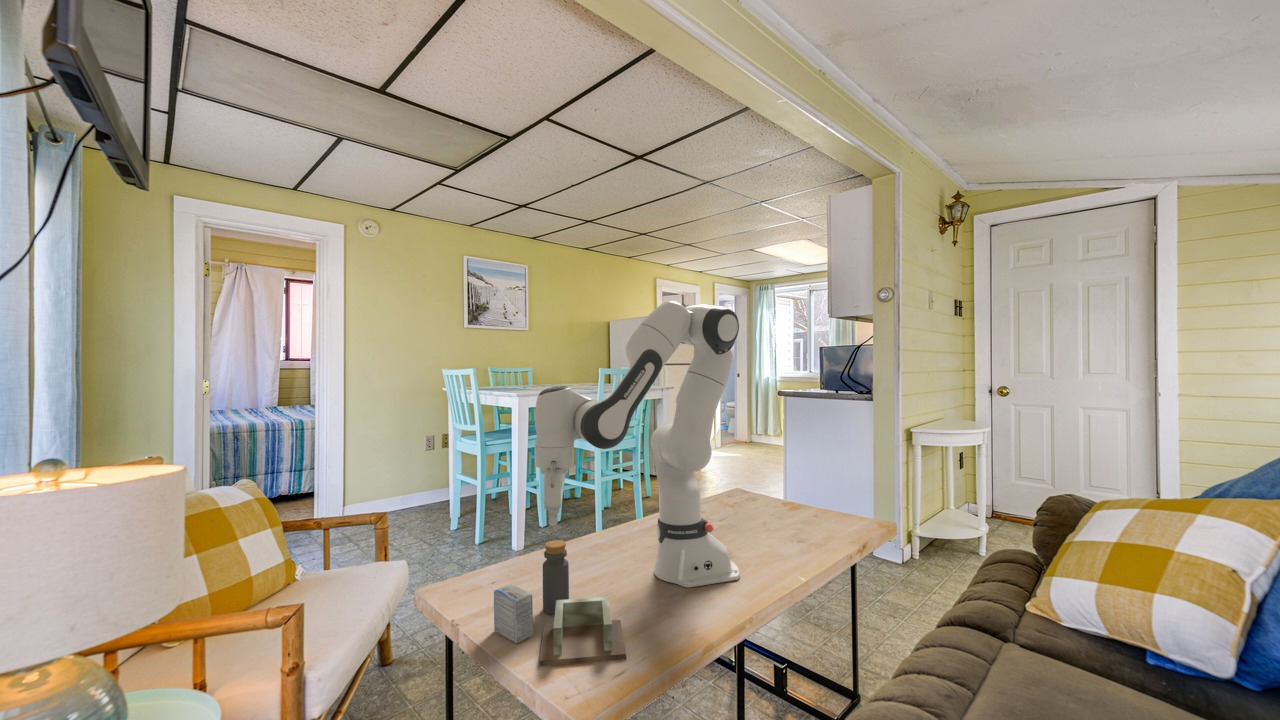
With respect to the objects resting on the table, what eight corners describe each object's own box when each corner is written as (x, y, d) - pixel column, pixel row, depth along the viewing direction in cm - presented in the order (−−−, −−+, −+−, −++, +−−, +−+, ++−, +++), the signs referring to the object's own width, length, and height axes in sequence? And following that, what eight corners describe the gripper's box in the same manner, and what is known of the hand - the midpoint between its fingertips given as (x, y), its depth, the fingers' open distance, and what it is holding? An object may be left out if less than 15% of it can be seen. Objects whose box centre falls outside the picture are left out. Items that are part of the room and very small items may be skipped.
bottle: (563, 617, 111) (563, 548, 111) (538, 615, 112) (538, 547, 112) (572, 605, 117) (571, 539, 117) (548, 602, 118) (548, 538, 118)
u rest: (620, 624, 108) (620, 595, 108) (626, 659, 95) (625, 627, 95) (544, 629, 106) (544, 601, 106) (539, 666, 93) (539, 633, 93)
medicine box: (533, 636, 103) (533, 593, 103) (515, 645, 100) (515, 601, 100) (511, 623, 109) (511, 582, 109) (493, 631, 105) (493, 589, 105)
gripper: (567, 466, 105) (567, 532, 105) (569, 450, 125) (569, 506, 125) (536, 466, 104) (536, 534, 104) (543, 450, 124) (543, 507, 124)
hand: (554, 518), depth 115 cm, fingers open, 8 cm apart
